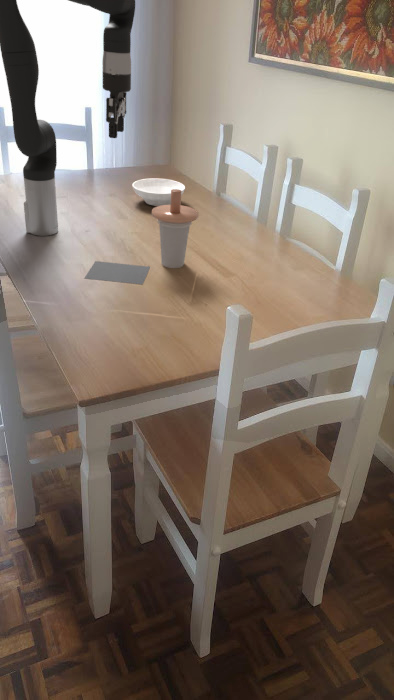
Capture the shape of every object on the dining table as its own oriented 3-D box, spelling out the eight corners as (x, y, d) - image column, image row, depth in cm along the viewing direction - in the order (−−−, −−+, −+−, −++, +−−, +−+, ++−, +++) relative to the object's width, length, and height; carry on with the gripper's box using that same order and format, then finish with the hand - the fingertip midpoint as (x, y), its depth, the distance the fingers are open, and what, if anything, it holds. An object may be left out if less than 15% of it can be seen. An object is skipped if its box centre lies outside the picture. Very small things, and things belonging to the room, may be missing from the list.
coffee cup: (193, 261, 170) (196, 212, 162) (182, 273, 162) (185, 223, 155) (163, 255, 173) (165, 207, 165) (151, 267, 165) (152, 217, 157)
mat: (84, 279, 155) (84, 278, 155) (95, 262, 165) (95, 261, 165) (142, 285, 154) (142, 284, 154) (150, 267, 164) (150, 266, 164)
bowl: (194, 203, 218) (195, 185, 214) (164, 216, 204) (165, 197, 200) (152, 192, 226) (153, 175, 223) (121, 204, 212) (121, 185, 208)
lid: (148, 220, 154) (148, 195, 151) (155, 205, 165) (156, 182, 162) (195, 225, 154) (197, 200, 150) (200, 209, 165) (202, 186, 161)
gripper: (109, 66, 158) (109, 128, 167) (96, 72, 146) (96, 138, 155) (135, 69, 158) (134, 131, 166) (125, 75, 146) (124, 141, 154)
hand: (116, 134), depth 160 cm, fingers open, 8 cm apart
